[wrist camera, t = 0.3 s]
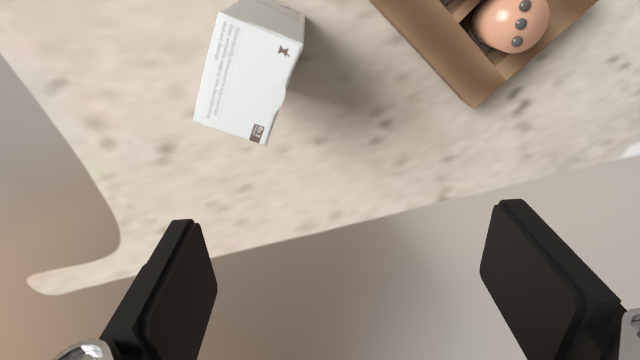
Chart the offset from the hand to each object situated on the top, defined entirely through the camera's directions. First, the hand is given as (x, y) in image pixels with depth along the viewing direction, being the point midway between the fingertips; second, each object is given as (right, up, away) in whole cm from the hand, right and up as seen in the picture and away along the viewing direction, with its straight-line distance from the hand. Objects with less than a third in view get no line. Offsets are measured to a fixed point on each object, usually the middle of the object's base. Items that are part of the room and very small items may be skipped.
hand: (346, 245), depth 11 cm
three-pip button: (+16, +18, +22) cm, 33 cm away
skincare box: (-6, +16, +25) cm, 31 cm away
